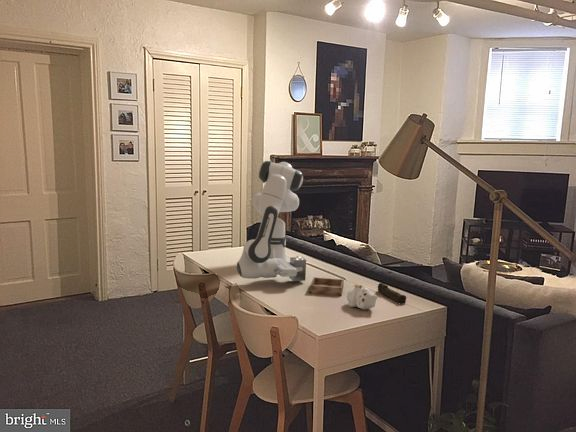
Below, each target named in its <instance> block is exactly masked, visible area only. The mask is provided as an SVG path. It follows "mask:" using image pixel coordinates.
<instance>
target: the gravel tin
mask: <svg viewBox="0 0 576 432" xmlns="http://www.w3.org/2000/svg"><path fill="white" fill-rule="evenodd" d="M289 262H290V264H291V265H292V266H293V267H302V268H303V270H302V271H299V272H297V274H296V276H294V277H288V278H289V279H290V280H291V281H293V282H303V281H306V272H307V271H306V270H307V259H305V258H304V257H303V256H293V257H289Z"/></svg>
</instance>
